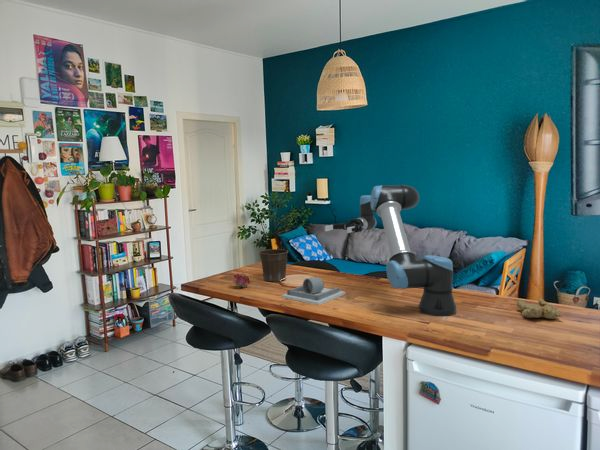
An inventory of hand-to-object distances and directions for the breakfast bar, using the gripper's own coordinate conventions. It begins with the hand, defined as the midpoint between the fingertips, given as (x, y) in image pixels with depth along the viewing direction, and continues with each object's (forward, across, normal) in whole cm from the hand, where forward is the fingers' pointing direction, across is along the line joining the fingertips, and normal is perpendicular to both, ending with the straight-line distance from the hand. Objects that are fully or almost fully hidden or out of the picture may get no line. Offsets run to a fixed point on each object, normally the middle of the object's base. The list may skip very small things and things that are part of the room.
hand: (336, 229), depth 230 cm
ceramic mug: (+20, +2, -29) cm, 35 cm away
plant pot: (+6, +38, -30) cm, 49 cm away
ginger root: (-6, -93, -30) cm, 98 cm away
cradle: (+20, 0, -30) cm, 36 cm away
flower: (+29, +40, -30) cm, 58 cm away
